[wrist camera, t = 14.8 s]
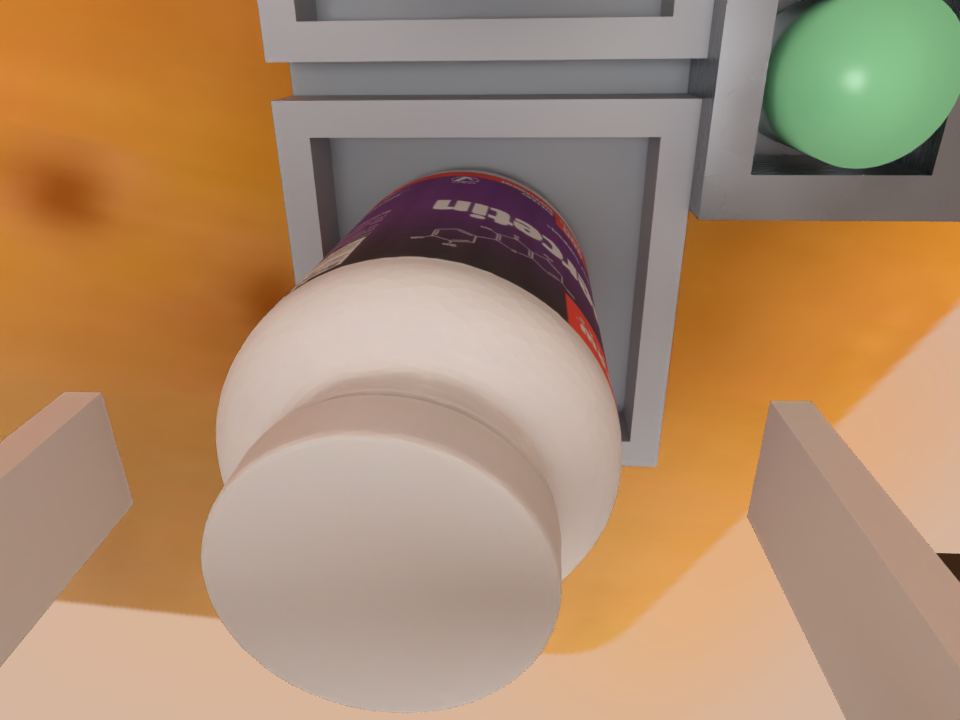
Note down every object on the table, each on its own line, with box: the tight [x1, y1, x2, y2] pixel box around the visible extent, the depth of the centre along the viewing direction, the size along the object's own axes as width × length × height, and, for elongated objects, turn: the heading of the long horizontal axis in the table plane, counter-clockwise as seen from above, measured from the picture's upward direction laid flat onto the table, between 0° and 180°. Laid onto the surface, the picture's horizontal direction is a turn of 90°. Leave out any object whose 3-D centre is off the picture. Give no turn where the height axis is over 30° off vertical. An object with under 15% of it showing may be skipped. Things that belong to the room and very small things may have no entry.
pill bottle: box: [201, 170, 622, 713], centre depth 17 cm, size 8×8×14 cm
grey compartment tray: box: [257, 0, 714, 467], centre depth 20 cm, size 12×26×3 cm, turn 1°
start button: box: [758, 0, 960, 169], centre depth 18 cm, size 4×4×4 cm
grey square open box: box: [687, 0, 960, 222], centre depth 19 cm, size 7×7×4 cm
